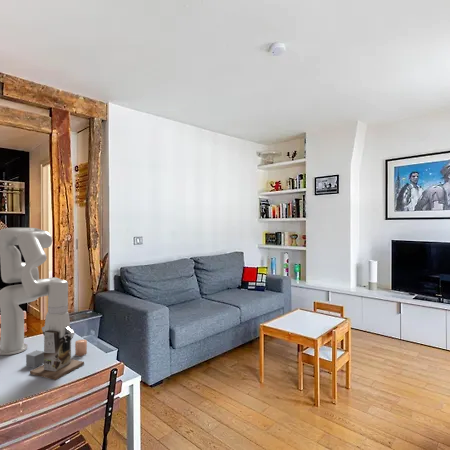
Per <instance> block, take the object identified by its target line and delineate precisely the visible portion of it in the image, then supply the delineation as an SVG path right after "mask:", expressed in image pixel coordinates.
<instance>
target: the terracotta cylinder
mask: <svg viewBox="0 0 450 450" xmlns="http://www.w3.org/2000/svg"><path fill="white" fill-rule="evenodd" d="M74 343H75V346H74V347H75V348H74V349H75V350H74V353H75V354H74V355H75V356H76V357H81V356H85V355H86V354H88V348H87V347H88V341H87V339H78V340H75V342H74Z"/></svg>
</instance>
